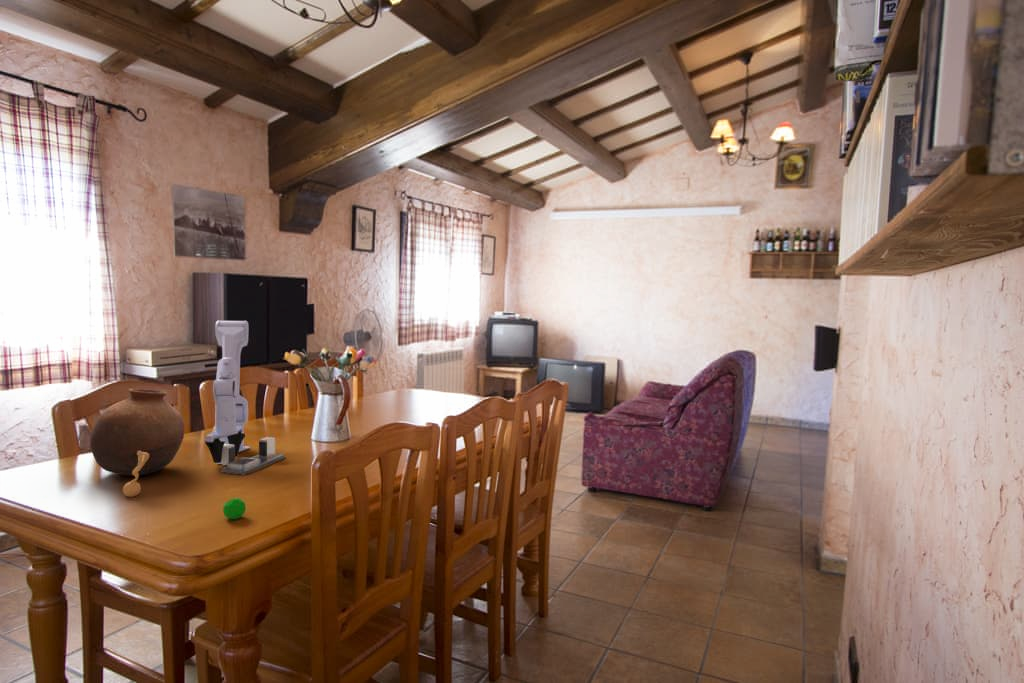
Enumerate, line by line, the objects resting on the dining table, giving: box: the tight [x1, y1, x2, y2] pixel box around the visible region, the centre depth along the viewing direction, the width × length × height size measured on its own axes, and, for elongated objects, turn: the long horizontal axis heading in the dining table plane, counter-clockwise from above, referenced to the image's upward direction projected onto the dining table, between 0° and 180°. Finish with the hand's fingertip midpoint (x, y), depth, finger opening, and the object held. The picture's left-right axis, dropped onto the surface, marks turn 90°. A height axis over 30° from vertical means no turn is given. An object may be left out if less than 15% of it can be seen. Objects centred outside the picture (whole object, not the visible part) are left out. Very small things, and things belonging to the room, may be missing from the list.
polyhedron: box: [222, 497, 247, 520], centre depth 144 cm, size 5×5×5 cm
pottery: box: [89, 388, 186, 477], centre depth 175 cm, size 23×23×25 cm
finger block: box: [216, 444, 236, 466], centre depth 188 cm, size 3×4×6 cm
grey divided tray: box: [220, 436, 286, 476], centre depth 188 cm, size 8×20×7 cm, turn 166°
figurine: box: [122, 451, 149, 498], centre depth 157 cm, size 8×6×12 cm
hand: (225, 459), depth 188 cm, fingers open, 7 cm apart
